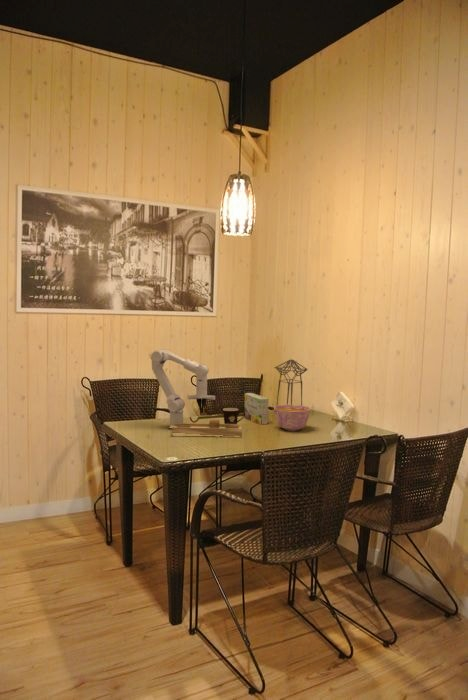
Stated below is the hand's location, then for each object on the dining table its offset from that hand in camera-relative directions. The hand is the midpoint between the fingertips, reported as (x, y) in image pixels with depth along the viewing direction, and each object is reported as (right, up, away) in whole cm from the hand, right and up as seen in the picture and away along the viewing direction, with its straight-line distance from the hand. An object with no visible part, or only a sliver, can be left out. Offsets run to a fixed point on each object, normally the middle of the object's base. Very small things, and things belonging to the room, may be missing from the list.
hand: (201, 412), depth 298 cm
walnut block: (+7, -7, -10) cm, 14 cm away
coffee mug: (+17, -9, +8) cm, 21 cm away
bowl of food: (+49, -10, +5) cm, 50 cm away
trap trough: (+3, -10, -9) cm, 14 cm away
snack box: (+30, -8, +25) cm, 40 cm away
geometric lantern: (+52, -7, +39) cm, 65 cm away
